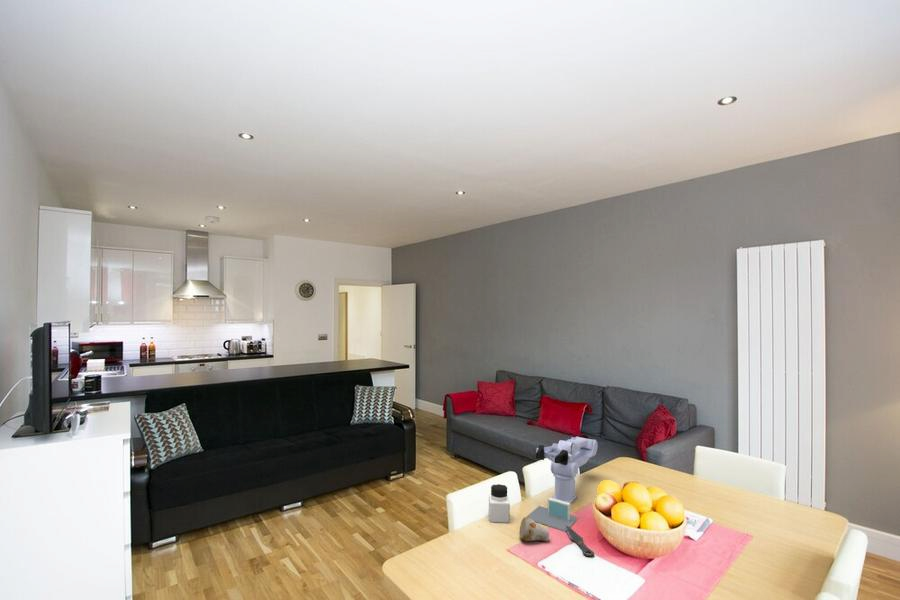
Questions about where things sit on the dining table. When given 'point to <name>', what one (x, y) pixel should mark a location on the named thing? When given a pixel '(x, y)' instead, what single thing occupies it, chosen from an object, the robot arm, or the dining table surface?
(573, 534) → the throwing knife
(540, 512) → the mat
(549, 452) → the robot arm
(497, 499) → the medicine bottle
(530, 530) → the mug
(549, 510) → the tile
